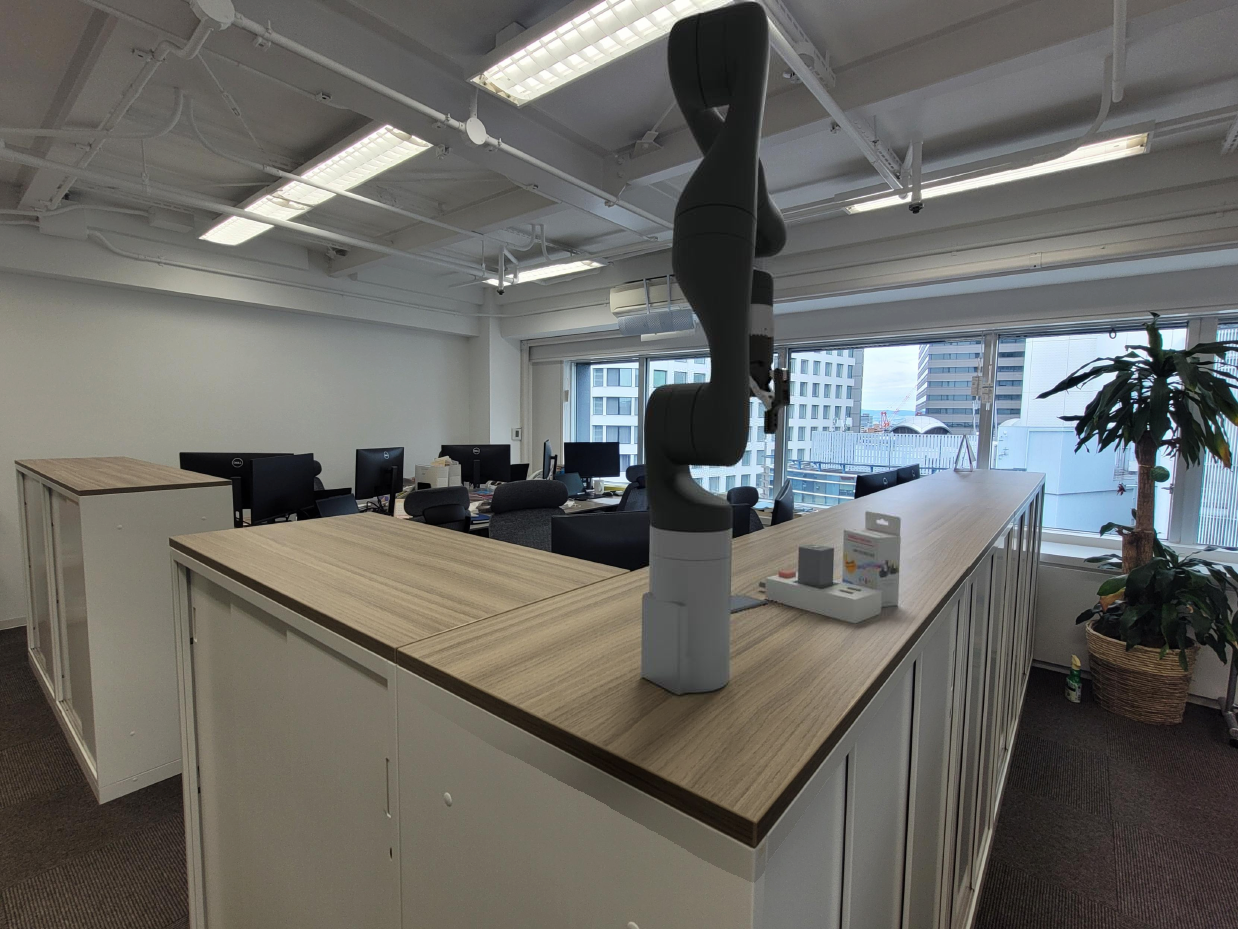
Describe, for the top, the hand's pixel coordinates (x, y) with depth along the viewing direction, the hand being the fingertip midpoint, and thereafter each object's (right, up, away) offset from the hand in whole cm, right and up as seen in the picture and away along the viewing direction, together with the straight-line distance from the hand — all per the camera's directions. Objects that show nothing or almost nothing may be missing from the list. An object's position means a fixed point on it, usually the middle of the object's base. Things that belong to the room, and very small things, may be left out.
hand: (748, 433), depth 94 cm
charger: (+11, -28, -1) cm, 30 cm away
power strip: (+10, -28, -1) cm, 30 cm away
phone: (-4, -29, -3) cm, 29 cm away
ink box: (+21, -29, +2) cm, 35 cm away
